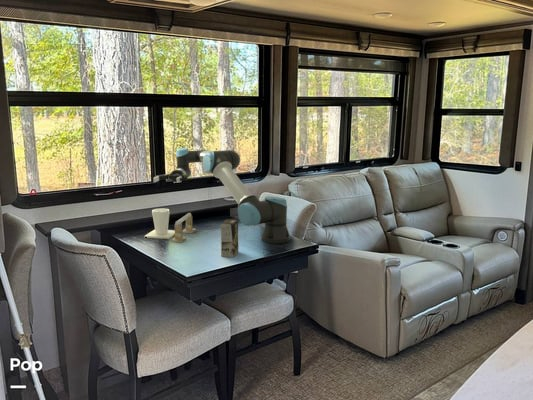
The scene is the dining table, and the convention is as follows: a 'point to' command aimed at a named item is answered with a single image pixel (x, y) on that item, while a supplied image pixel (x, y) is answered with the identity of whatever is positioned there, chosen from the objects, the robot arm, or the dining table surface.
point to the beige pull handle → (178, 230)
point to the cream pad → (164, 236)
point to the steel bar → (183, 218)
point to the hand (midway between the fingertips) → (165, 180)
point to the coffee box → (229, 238)
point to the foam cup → (161, 220)
